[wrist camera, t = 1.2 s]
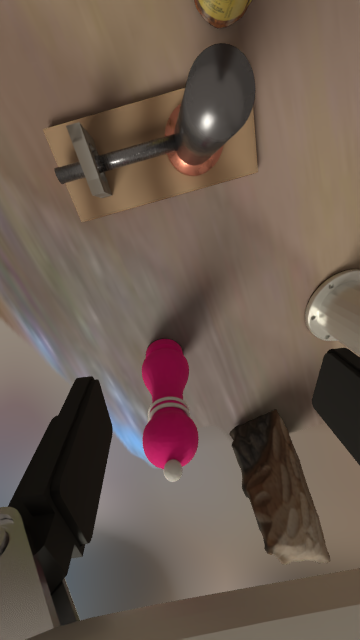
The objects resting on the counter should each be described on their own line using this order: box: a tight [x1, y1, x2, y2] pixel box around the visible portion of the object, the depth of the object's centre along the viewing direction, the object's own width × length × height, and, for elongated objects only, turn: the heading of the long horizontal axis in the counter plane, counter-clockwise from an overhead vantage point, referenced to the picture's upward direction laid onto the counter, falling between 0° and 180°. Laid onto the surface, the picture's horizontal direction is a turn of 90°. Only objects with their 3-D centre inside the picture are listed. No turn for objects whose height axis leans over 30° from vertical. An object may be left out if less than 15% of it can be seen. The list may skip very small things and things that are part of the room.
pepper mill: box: [142, 339, 198, 482], centre depth 29 cm, size 7×7×20 cm
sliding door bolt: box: [55, 43, 255, 184], centre depth 19 cm, size 18×6×11 cm, turn 104°
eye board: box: [43, 88, 258, 222], centre depth 23 cm, size 22×9×6 cm, turn 104°
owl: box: [230, 410, 330, 564], centre depth 42 cm, size 13×13×20 cm
